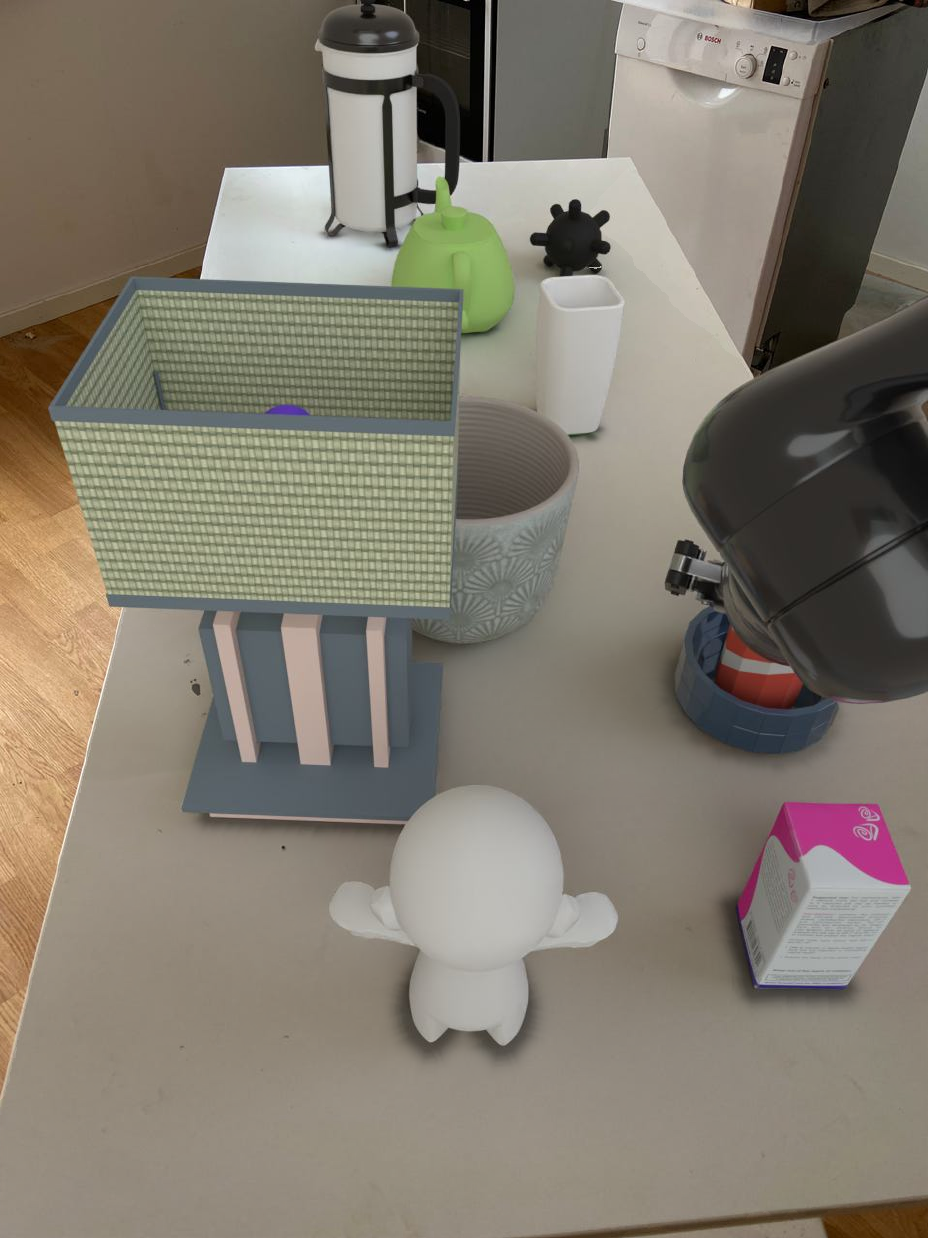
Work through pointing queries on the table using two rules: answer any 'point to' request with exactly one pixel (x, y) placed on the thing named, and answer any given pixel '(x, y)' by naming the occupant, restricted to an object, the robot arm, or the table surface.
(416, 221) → the teapot
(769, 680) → the beverage can
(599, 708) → the table surface
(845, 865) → the supplement box
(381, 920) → the figurine
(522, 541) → the planter
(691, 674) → the bowl
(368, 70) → the coffee press
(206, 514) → the desk lamp
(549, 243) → the toy ball
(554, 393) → the cup
